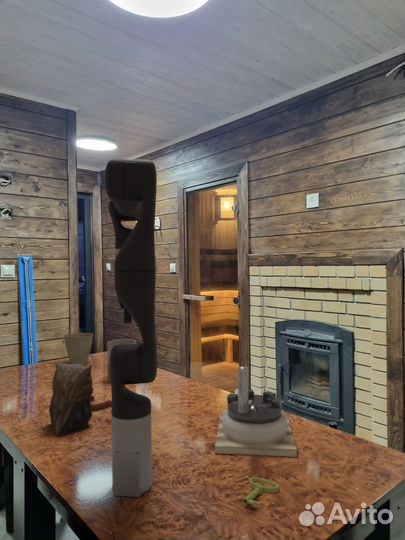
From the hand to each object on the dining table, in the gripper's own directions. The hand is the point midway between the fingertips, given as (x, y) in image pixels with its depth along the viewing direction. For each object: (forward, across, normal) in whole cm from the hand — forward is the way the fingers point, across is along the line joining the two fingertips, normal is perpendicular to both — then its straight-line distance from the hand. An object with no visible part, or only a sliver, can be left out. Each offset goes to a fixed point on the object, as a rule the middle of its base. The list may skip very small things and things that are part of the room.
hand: (128, 322), depth 117 cm
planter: (+35, +61, +22) cm, 74 cm away
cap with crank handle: (+28, +3, -36) cm, 45 cm away
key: (+36, -24, -37) cm, 57 cm away
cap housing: (+33, +5, -37) cm, 50 cm away
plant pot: (+35, +89, +55) cm, 110 cm away
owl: (+35, +7, +23) cm, 43 cm away
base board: (+35, +5, -37) cm, 51 cm away
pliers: (+36, +24, +26) cm, 50 cm away
